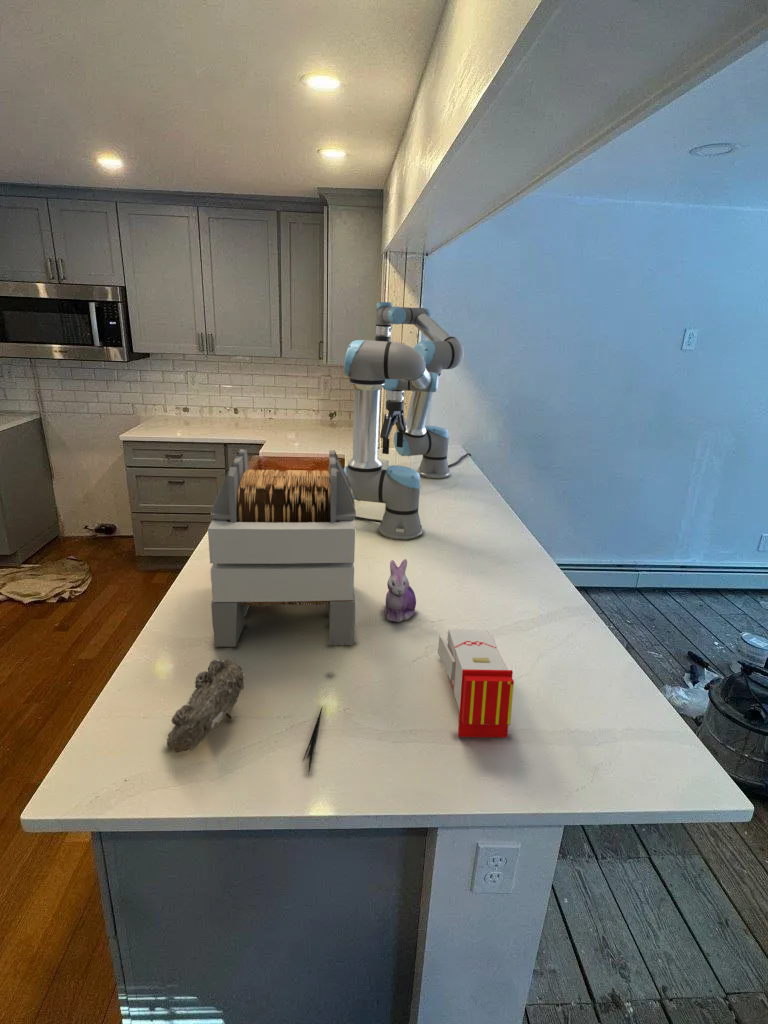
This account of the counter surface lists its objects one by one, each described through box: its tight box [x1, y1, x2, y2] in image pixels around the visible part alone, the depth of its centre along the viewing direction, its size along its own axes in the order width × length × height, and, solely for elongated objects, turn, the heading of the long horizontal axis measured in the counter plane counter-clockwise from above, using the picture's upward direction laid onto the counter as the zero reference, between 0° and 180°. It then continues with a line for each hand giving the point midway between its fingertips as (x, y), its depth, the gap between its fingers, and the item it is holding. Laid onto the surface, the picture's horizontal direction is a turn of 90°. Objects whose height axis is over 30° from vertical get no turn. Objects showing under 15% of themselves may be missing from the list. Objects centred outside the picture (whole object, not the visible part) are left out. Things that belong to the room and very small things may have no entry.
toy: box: [437, 628, 515, 738], centre depth 117 cm, size 12×13×30 cm
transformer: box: [207, 448, 357, 649], centre depth 139 cm, size 34×33×41 cm
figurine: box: [384, 558, 417, 623], centre depth 145 cm, size 9×10×15 cm
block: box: [378, 458, 390, 470], centre depth 251 cm, size 9×6×12 cm, turn 64°
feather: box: [301, 673, 332, 771], centre depth 108 cm, size 2×28×2 cm
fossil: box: [166, 658, 245, 754], centre depth 106 cm, size 22×10×15 cm
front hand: (392, 450), depth 242 cm, fingers open, 13 cm apart
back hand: (381, 380), depth 282 cm, fingers open, 13 cm apart
